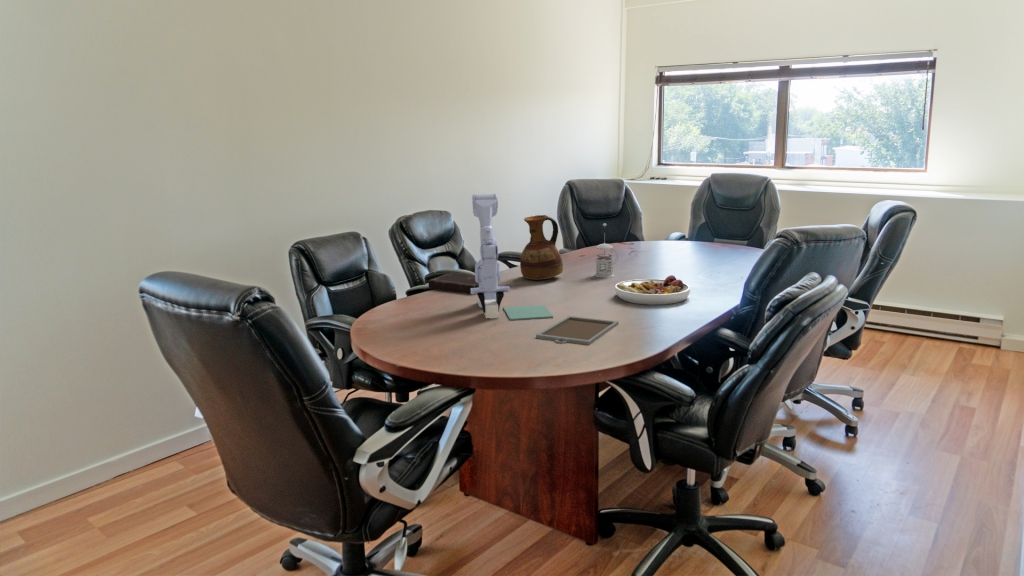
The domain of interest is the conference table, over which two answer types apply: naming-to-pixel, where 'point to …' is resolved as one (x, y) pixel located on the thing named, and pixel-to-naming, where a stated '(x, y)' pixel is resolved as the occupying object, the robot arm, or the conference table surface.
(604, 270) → the french press
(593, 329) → the picture frame
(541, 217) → the ceramic pitcher
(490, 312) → the card box
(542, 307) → the mat
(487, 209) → the robot arm
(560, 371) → the conference table surface
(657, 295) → the bowl
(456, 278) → the diary
